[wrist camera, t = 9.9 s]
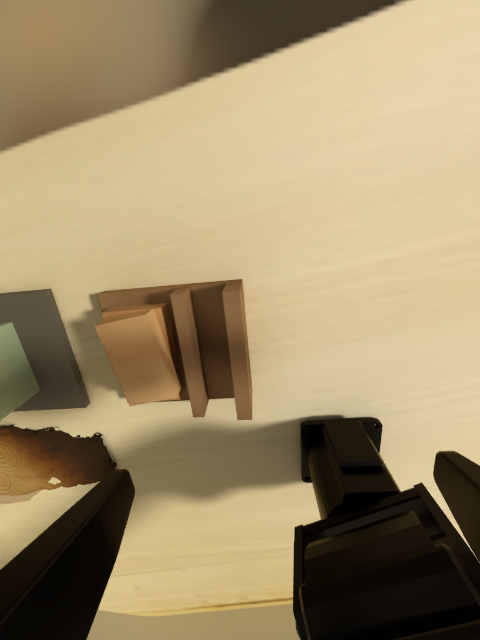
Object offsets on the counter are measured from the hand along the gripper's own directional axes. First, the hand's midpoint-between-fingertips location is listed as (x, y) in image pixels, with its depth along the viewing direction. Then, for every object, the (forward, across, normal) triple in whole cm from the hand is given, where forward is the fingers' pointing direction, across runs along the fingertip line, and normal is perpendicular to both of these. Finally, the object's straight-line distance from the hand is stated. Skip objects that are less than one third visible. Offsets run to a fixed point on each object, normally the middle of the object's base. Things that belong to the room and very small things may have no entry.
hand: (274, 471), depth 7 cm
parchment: (+12, +28, +12) cm, 32 cm away
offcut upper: (+10, +8, 0) cm, 13 cm away
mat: (+12, +19, 0) cm, 23 cm away
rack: (+12, +6, 0) cm, 13 cm away
